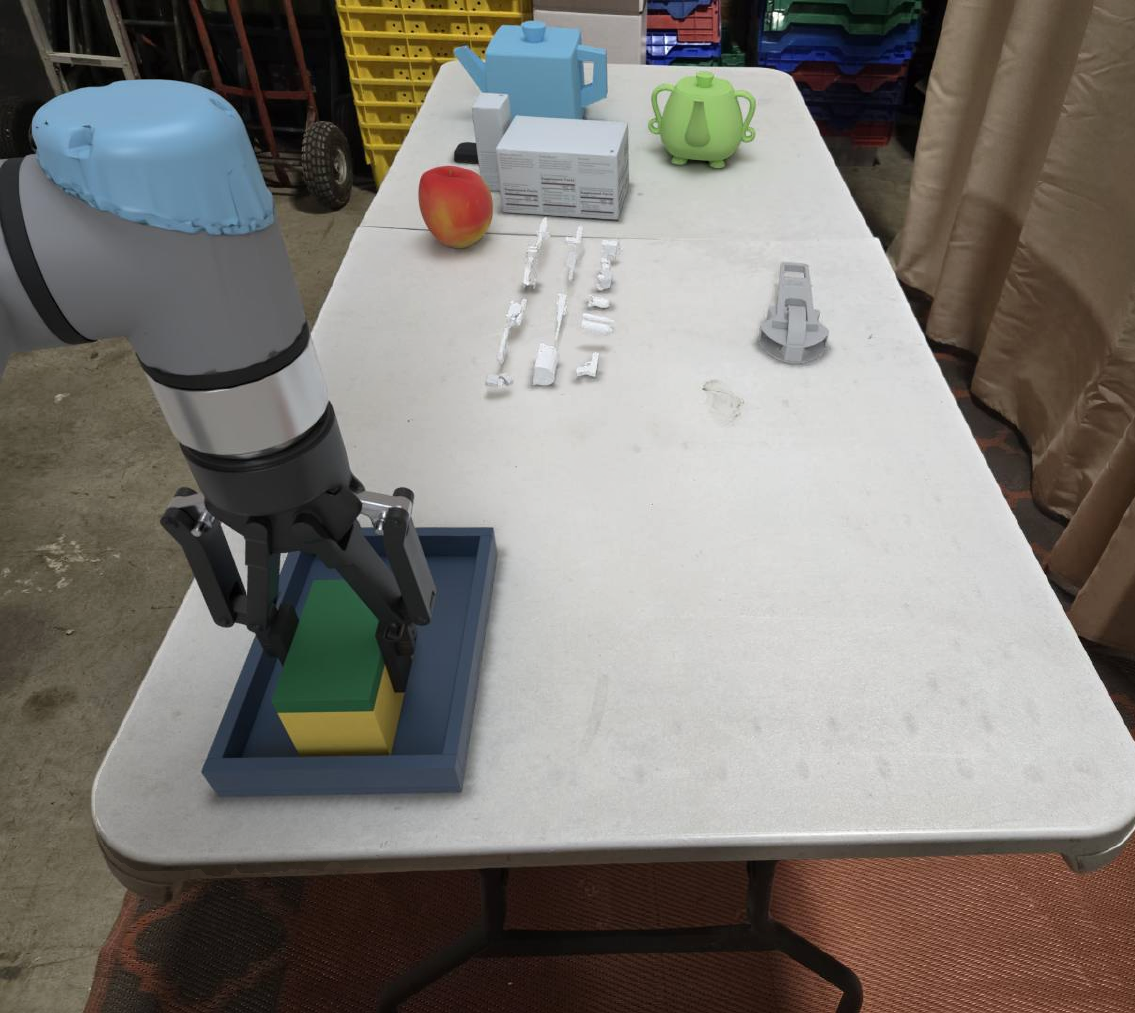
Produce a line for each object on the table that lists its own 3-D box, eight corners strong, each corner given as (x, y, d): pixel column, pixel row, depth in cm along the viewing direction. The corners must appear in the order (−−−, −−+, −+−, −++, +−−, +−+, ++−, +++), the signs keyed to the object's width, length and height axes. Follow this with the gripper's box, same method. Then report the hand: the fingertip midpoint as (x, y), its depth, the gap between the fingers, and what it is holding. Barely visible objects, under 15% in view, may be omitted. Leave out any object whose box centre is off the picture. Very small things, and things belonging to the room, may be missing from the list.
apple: (484, 263, 109) (475, 188, 102) (413, 256, 110) (399, 180, 103) (504, 230, 116) (497, 157, 109) (437, 224, 117) (425, 151, 110)
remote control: (552, 159, 136) (459, 149, 136) (552, 147, 135) (458, 138, 134) (547, 171, 132) (452, 161, 132) (547, 159, 131) (451, 150, 131)
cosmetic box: (489, 174, 129) (480, 91, 121) (517, 176, 129) (509, 93, 121) (480, 190, 125) (470, 106, 117) (509, 192, 125) (500, 108, 117)
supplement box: (629, 184, 129) (630, 120, 122) (618, 222, 119) (618, 155, 113) (520, 176, 129) (515, 112, 123) (501, 213, 120) (493, 146, 113)
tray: (461, 792, 57) (454, 767, 54) (217, 797, 56) (200, 772, 54) (497, 553, 73) (493, 526, 70) (308, 554, 72) (297, 527, 69)
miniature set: (533, 235, 113) (622, 253, 115) (484, 405, 89) (597, 424, 91) (536, 191, 108) (630, 210, 110) (486, 358, 85) (605, 379, 86)
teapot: (766, 168, 136) (776, 84, 127) (692, 184, 130) (697, 97, 121) (711, 134, 145) (717, 54, 137) (640, 147, 140) (641, 64, 131)
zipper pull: (821, 287, 108) (827, 256, 105) (827, 366, 95) (833, 334, 92) (760, 282, 109) (764, 251, 106) (757, 360, 96) (762, 327, 93)
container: (603, 144, 140) (601, 42, 129) (453, 136, 140) (438, 33, 129) (611, 108, 152) (610, 12, 142) (472, 101, 152) (461, 4, 141)
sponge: (390, 756, 57) (368, 699, 53) (300, 758, 57) (270, 700, 52) (416, 638, 65) (399, 578, 60) (337, 639, 64) (313, 579, 59)
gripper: (452, 375, 47) (497, 633, 63) (96, 372, 45) (234, 635, 61) (430, 464, 41) (484, 721, 57) (25, 463, 40) (196, 725, 56)
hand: (355, 676), depth 59 cm, fingers closed on sponge, 6 cm apart
